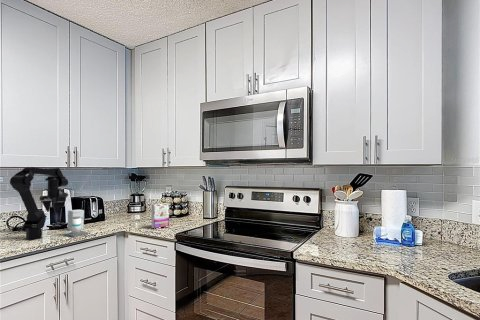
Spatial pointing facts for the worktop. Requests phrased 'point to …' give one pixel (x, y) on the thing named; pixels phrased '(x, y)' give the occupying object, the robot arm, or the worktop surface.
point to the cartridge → (76, 225)
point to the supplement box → (74, 214)
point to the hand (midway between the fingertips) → (52, 212)
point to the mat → (75, 234)
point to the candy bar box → (160, 215)
